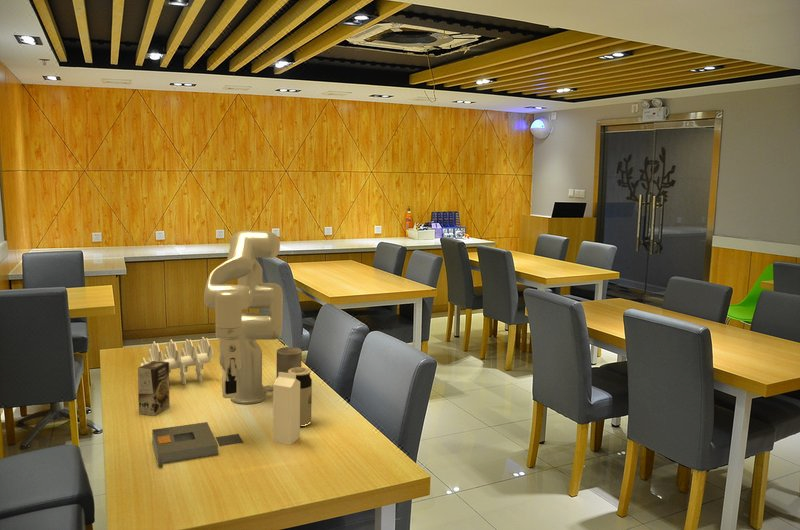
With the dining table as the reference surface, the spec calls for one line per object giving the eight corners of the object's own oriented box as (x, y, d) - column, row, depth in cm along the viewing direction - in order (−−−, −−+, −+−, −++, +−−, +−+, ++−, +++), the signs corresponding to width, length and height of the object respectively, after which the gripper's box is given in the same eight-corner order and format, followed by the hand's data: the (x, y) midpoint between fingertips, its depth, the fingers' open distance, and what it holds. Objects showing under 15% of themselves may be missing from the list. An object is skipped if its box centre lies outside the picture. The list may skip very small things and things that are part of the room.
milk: (282, 437, 195) (283, 368, 192) (300, 440, 193) (300, 371, 191) (272, 444, 190) (273, 374, 187) (290, 448, 188) (291, 376, 185)
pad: (238, 436, 194) (238, 433, 194) (243, 445, 188) (243, 442, 188) (215, 440, 191) (215, 437, 191) (219, 449, 185) (219, 446, 185)
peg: (234, 392, 191) (234, 361, 189) (237, 397, 187) (237, 365, 186) (221, 394, 189) (221, 362, 188) (223, 399, 186) (223, 366, 184)
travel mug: (282, 425, 204) (282, 372, 202) (294, 417, 212) (294, 365, 209) (303, 429, 202) (304, 375, 199) (315, 421, 209) (316, 368, 207)
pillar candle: (279, 379, 250) (279, 343, 248) (303, 380, 250) (303, 344, 247) (273, 388, 240) (273, 350, 238) (299, 389, 240) (299, 351, 238)
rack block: (207, 434, 196) (207, 421, 195) (217, 457, 180) (217, 443, 179) (152, 442, 188) (152, 429, 188) (158, 467, 173) (158, 453, 172)
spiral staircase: (141, 395, 238) (207, 383, 251) (148, 389, 224) (218, 376, 237) (134, 349, 242) (200, 338, 255) (140, 339, 228) (209, 329, 240)
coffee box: (155, 416, 209) (154, 369, 206) (138, 414, 210) (136, 367, 208) (170, 406, 218) (169, 361, 215) (153, 404, 219) (152, 359, 217)
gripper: (248, 337, 179) (248, 398, 182) (235, 323, 194) (236, 380, 197) (221, 340, 176) (221, 402, 179) (210, 325, 191) (211, 383, 194)
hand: (229, 390), depth 188 cm, fingers closed on peg, 4 cm apart
